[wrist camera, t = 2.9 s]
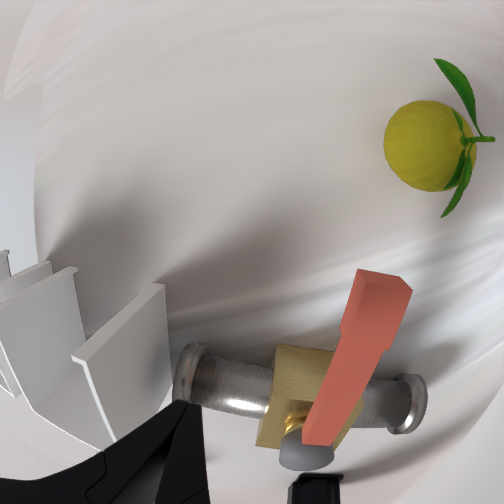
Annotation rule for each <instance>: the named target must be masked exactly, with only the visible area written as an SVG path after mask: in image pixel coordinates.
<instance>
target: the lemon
mask: <svg viewBox="0 0 504 504" xmlns="http://www.w3.org/2000/svg"><path fill="white" fill-rule="evenodd" d="M434 60H435V62H436V63H437V65H438V66H439V68H440V69H441V71H442V72H443V73H444V75H445V76H446V77H447V79H448V80H449V81H450V83H451V84H452V85H453V86H454V88H455V89H456V91H457V92H458V94H459V95H460V97H461V99H462V100H463V102H464V104H465V106H466V108H467V110H468V113H469V115H470V117H471V119H472V121H473V123H474V125H475V127H476V129H477V131H478V133H479V135H480V137H474V135H473V133H472V130H471V128H470V126H469V125H468V123H467V122H466V120H465V119H464V117H463V116H462V115H460V114H459V113H458V112H457V111H456V110H454V109H453V108H451V107H449V106H447V105H445V104H442V103H440V102H437V101H424V100H422V101H414V102H412V103H409V104H407V105H405V106H403V107H401V108H399V109H398V110H397V111H396V113H395V114H394V115H393V116H392V117H391V119H390V120H389V123H388V125H387V128H386V130H385V137H384V144H383V145H384V151H385V157H386V159H387V161H388V163H389V165H390V167H391V169H392V170H393V171H394V172H395V173H396V174H397V176H398V177H399V178H400V179H401V180H402V181H404V182H405V183H407V184H408V185H410V186H411V187H413V188H416V189H420V190H423V191H427V192H438V191H447V190H450V189H452V188H454V187H456V186H457V185H458V187H457V189H456V191H455V193H454V196H453V198H452V199H451V201H450V203H449V205H448V207H447V208H446V210H445V211H444V213H443V214H442V216H441V218H442V217H444V216H446V215H447V214H449V213H450V212H451V211H452V210H453V209H454V208H455V206H456V205H457V203H458V202H459V200H460V198H461V196H462V194H463V191H464V190H465V188H466V187H467V185H468V183H469V181H470V177H471V174H472V170H473V168H474V164H475V160H476V143H475V142H495V138H494V137H486V136H483V135H482V134H481V132H480V131H479V129H478V127H477V123H476V109H475V98H474V94H473V91H472V88H471V86H470V84H469V82H468V80H467V78H466V76H465V75H464V74H463V73H462V72H461V71H460V70H459V69H458V68H457V67H456V66H454V65H453V64H451V63H449V62H447V61H445V60H442V59H436V58H434Z"/></svg>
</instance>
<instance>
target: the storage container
mask: <svg viewBox="0 0 504 504" xmlns="http://www.w3.org/2000/svg"><path fill="white" fill-rule="evenodd" d="M9 253H10V252H9V250H3V251H0V386H1V387H2V388H3V389H4V390H5V391H7V392H8V393H9V394H10V395H12V396H13V397H14V398H15V399H16V398H17V397H18V396H19V395H20V394H21V393H23V394H24V396H25V398H26V400H27V402H28V404H29V405H30V407H31V409H32V410H33V412H34V413H35V414H37V415H38V416H40V417H41V418H43V419H44V420H46V421H47V422H49V423H50V424H52V425H54V426H55V427H57V428H58V429H60V430H62V431H63V432H65V433H67V434H68V435H70V436H72V437H73V438H75V439H77V440H79V441H81V442H83V443H84V444H87V445H88V446H90V447H92V448H94V449H96V450H98V451H100V452H101V451H104V449H106V448H107V447H109V446H110V445H112V444H113V443H115V442H116V441H118V440H119V439H121V438H122V437H124V436H125V435H127V434H128V433H130V432H131V431H133V430H134V429H136V428H137V427H139V426H140V425H142V424H143V423H144V422H146V421H147V420H149V419H150V418H151V417H153V416H154V415H156V413H157V411H158V409H159V408H160V406H161V404H162V402H163V400H164V398H165V397H166V395H167V393H168V391H169V389H170V387H171V386H172V384H173V379H172V370H171V361H170V351H169V339H168V326H167V311H166V290H165V284H159V283H154V282H153V283H152V284H151V285H150V286H148V287H147V288H146V289H145V290H144V291H142V292H141V293H140V294H139V295H138V296H137V297H135V298H134V299H133V300H132V301H131V302H130V303H129V304H127V305H126V306H125V307H124V308H123V309H122V310H120V311H119V312H118V313H117V314H116V315H115V316H114V317H113V318H111V319H110V320H109V321H108V322H107V323H106V324H105V325H104V326H102V327H101V328H100V329H99V330H98V331H97V332H96V333H95V334H93V335H92V336H91V337H90V338H89V339H88V340H87V341H86V338H85V334H84V329H83V325H82V320H81V316H80V311H79V306H78V300H77V295H76V289H75V282H74V275H73V274H74V273H75V272H77V271H78V269H77V267H73V266H68V267H66V268H64V269H62V270H60V271H59V272H57V273H55V274H53V270H52V263H51V261H47V260H45V261H42V262H40V263H38V264H36V265H34V266H32V267H29V268H27V269H25V270H23V271H21V272H19V273H17V274H15V275H13V276H11V272H10V267H9V260H8V254H9Z"/></svg>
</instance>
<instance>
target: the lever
mask: <svg viewBox="0 0 504 504" xmlns="http://www.w3.org/2000/svg"><path fill="white" fill-rule="evenodd" d="M412 292H413V290H412V289H411V288H410V287H409V286H408V285H407V284H406V283H405V282H404V281H403V279H402V278H401V277H399V276H394V275H388V274H383V273H378V272H372V271H367V270H362V269H357V272H356V276H355V279H354V282H353V286H352V289H351V293H350V296H349V299H348V302H347V306H346V309H345V312H344V315H343V318H342V321H341V324H340V327H339V328H340V331H341V334H342V335H341V337H340V340H339V343H338V345H337V348H336V351H335V353H334V356H333V359H332V361H331V364H330V366H329V369H328V371H327V373H326V376H325V378H324V381H323V383H322V385H321V388H320V390H319V392H318V395H317V397H316V399H315V401H314V403H313V406H312V408H311V410H310V412H309V414H308V416H307V418H306V420H305V423H304V425H303V427H302V429H298V430H294V431H292V432H289V433H288V434H286V435H285V436H284V437H283V438H282V439H281V444H280V456H279V462H280V464H281V465H282V466H283V467H285V468H287V469H290V470H294V471H312V470H317V469H320V468H323V467H325V466H327V465H329V464H330V463H331V462H332V461H333V459H334V447H333V441H334V439H335V438H336V436H337V435H338V433H339V432H340V430H341V429H342V427H343V425H344V424H345V422H346V421H347V419H348V417H349V416H350V414H351V412H352V411H353V409H354V407H355V405H356V404H357V402H358V400H359V398H360V397H361V395H362V393H363V391H364V389H365V387H366V385H367V384H368V382H369V380H370V378H371V376H372V374H373V372H374V370H375V368H376V366H377V364H378V362H379V359H380V357H381V355H382V353H383V351H384V350H388V351H389V349H390V346H391V344H392V342H393V340H394V338H395V335H396V333H397V331H398V328H399V326H400V323H401V321H402V318H403V316H404V313H405V311H406V308H407V305H408V303H409V300H410V297H411V294H412Z"/></svg>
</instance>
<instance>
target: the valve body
mask: <svg viewBox="0 0 504 504" xmlns="http://www.w3.org/2000/svg"><path fill="white" fill-rule="evenodd" d="M334 353H335V352H332V351H324V350H317V349H310V348H303V347H297V346H291V345H285V344H279V343H277V345H276V349H275V353H274V357H273V361H272V365H271V368H269V367H263V366H258V365H253V364H247V363H243V362H238V361H233V360H228V359H224V358H220V357H215V356H211V355H208V350H207V346H205V345H201V344H197V343H194V342H190V343H188V344H187V346H186V347H185V349H184V351H183V353H182V355H181V357H180V360H179V363H178V366H177V369H176V373H175V377H174V382H173V389H172V402H173V401H175V400H176V399H181V400H185V401H188V402H189V403H195V404H199V405H201V406H202V407H205V408H209V409H213V410H217V411H222V412H226V413H231V414H235V415H240V416H245V417H251V418H256V419H260V420H259V427H258V433H257V439H256V445H255V446H259V447H265V448H273V449H280V444H281V439H282V438H283V437H284V436H285V435H286V434H288V433H289V432H292V431H294V430H298V429H302V427H303V425H304V423H305V420H306V418H307V416H308V414H309V412H310V410H311V408H312V406H313V403H314V401H315V399H316V397H317V395H318V392H319V390H320V388H321V385H322V383H323V381H324V378H325V376H326V373H327V371H328V369H329V366H330V364H331V361H332V359H333V356H334ZM427 400H428V394H427V387H426V384H425V381H424V380H423V378H422V377H421V376H420V375H418V374H408V373H403V374H400V375H398V376H397V377H396V378H395V379H394V381H388V380H369V382H368V384H367V385H366V387H365V389H364V391H363V393H362V395H361V397H360V398H359V400H358V402H357V404H356V405H355V407H354V409H353V411H352V412H351V414H350V416H349V417H348V419H347V421H346V422H345V424H344V425H343V427H342V429H341V430H340V432H339V433H338V435H337V436H336V438H335V439H334V441H333V447H334V451H335V450H336V448H337V447H338V445H339V444H340V443H341V441H342V440H343V438H344V437H345V435H346V434H347V432H348V431H349V429H350V428H387V429H388V431H389V432H390V433H392V434H395V435H397V434H408V433H411V432H413V431H414V430H415V429H416V428H417V427H418V426H419V424H420V423H421V421H422V419H423V417H424V414H425V411H426V408H427Z"/></svg>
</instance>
